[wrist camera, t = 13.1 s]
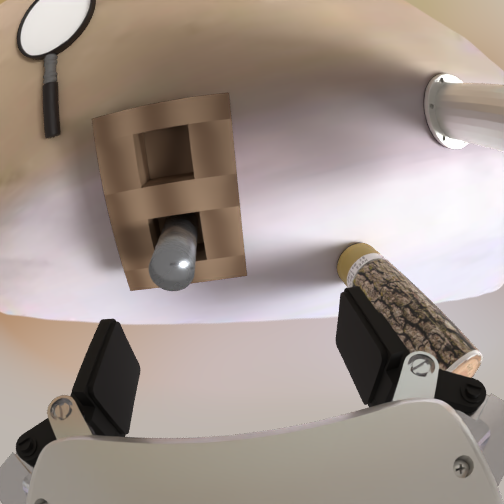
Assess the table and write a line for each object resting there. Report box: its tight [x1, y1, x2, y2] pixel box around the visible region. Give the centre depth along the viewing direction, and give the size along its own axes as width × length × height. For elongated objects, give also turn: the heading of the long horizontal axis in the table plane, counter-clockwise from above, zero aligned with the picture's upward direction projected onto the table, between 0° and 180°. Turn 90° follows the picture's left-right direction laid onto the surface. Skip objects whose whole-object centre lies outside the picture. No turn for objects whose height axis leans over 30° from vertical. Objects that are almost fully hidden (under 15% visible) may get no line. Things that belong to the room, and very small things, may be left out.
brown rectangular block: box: [92, 93, 247, 291], centre depth 31 cm, size 14×20×6 cm
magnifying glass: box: [17, 0, 96, 138], centre depth 22 cm, size 12×24×2 cm, turn 3°
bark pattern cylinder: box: [337, 243, 482, 378], centre depth 31 cm, size 7×7×25 cm
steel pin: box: [149, 212, 198, 291], centre depth 29 cm, size 4×4×12 cm
